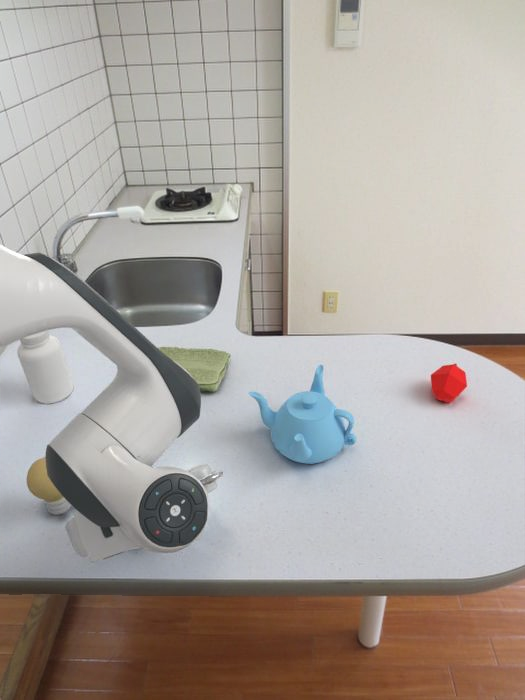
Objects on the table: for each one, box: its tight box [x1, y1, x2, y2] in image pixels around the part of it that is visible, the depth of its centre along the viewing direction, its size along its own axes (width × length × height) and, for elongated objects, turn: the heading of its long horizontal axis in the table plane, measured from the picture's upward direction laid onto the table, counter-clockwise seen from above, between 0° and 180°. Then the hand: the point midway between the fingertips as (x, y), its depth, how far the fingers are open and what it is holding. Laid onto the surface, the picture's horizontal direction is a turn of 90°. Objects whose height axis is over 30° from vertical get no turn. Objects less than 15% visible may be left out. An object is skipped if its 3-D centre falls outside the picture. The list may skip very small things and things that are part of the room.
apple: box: [430, 363, 468, 404], centre depth 101 cm, size 7×7×8 cm
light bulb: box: [26, 456, 72, 516], centre depth 80 cm, size 6×6×10 cm
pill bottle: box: [16, 330, 75, 405], centre depth 103 cm, size 8×8×15 cm
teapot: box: [248, 364, 357, 465], centre depth 90 cm, size 15×15×10 cm
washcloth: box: [157, 346, 232, 393], centre depth 110 cm, size 13×18×3 cm
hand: (138, 503), depth 77 cm, fingers closed on pad block, 4 cm apart
